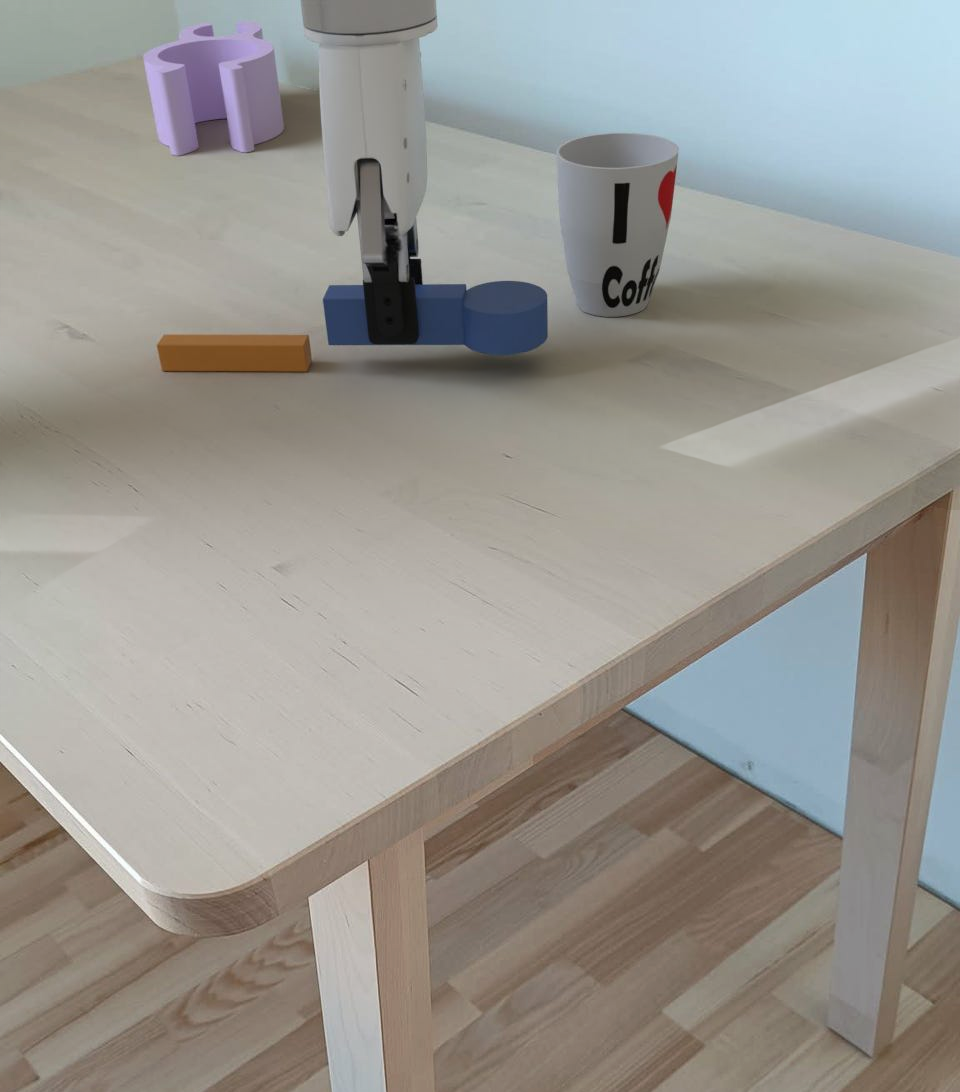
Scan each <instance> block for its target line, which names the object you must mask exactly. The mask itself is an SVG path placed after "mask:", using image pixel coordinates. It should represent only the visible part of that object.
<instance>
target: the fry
mask: <svg viewBox="0 0 960 1092" xmlns="http://www.w3.org/2000/svg"><path fill="white" fill-rule="evenodd" d="M311 348H312V347H311V341H310V335H309V334H183V333H182V334H167V333H166V334H163V335H162V336H161V338H160V340H159V341H158V342H157V344H156V349H157V353H158V357H159V362H160V367H161V371H163V372H293V373H295V372H296V373H297V372H302V373H303V372H304V373H305V372H308V370H309V368H310V366H311V364H312V362H313V357H312V349H311Z"/></svg>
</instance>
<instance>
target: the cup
mask: <svg viewBox="0 0 960 1092" xmlns="http://www.w3.org/2000/svg"><path fill="white" fill-rule="evenodd" d="M679 151H680V148H679V146H678V144H676V143H675V142H674V141H672V140H669V139H668V138H665V137H661V136H657V135H652V134H646V133H636V132H609V133H608V132H606V133H597V134H590V135H585V136H581V137H576V138H573V139H570V140H568V141H566V142H563V143H562V144H560V145H559V146H558V147H557V148H556V151H555V155H556V156H555V159H556V176H557V196H558V217H559V225H560V232H561V237H562V243H563V245H562V246H563V250H564V259H565V264H566V270H567V274H568V277H569V281H570V284H571V288H572V291H573V294H574V298H575V302H576V305H577V307H578V309H579V310H580V311H582V312H584V313H586V314H589V315H592V316H597V317H606V318H617V317H625V316H631V315H634V314H637V313H640V312H642V311H643V310H645V309H646V308H647V306H648V304H649V301H650V298H651V295H652V293H653V290H654V286H655V284H656V281H657V278H658V275H659V272H660V270H661V265H662V261H663V257H664V251H665V247H666V242H667V237H668V232H669V228H670V224H671V218H672V210H673V203H674V194H675V186H676V177H677V168H678V160H679Z"/></svg>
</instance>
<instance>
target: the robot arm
mask: <svg viewBox="0 0 960 1092" xmlns="http://www.w3.org/2000/svg"><path fill="white" fill-rule="evenodd" d="M300 7H301V8H300V9H301V16H302V23H303V24H302V25H303V34H304V37H305V38H306V39H307V40H308V41H311V42H313V43H317V44H318V86H319V89H318V90H319V108H320V122H321V123H320V125H321V137H322V138H321V139H322V150H323V151H322V152H323V163H324V175H325V187H326V189H325V190H326V199H327V200H326V201H327V213H328V223H329V229H330V230H331V232H332V233H333V234H334V235H335V236H337V237H343V236H344V235H345V233H346V232H348V231H349V229H350V228H351V226H352V224H353V221H354V219H355V217H356V218H357V229H358V239H359V247H360V248H359V249H360V260H361V270H362V271H361V272H362V278H363V279H362V285H363V288H364V298H365V307H366V317H367V327H368V336H369V341H370V342H371V343H373V344H415V343H416V342H417V340H418V337H419V331H418V318H417V304H416V291H415V284H424V282H423V281H424V280H423V268H422V258H418V257H419V252H420V251H419V234H418V233H419V232H418V222H417V217H418V214H419V211H420V209H421V207H422V203H423V201H424V197H425V194H426V192H427V186H428V146H427V145H428V144H427V143H428V141H427V124H426V107H425V92H424V82H423V81H424V79H423V68H422V51H421V44H420V38H423V37H426V36H428V35H429V34H432V33H434V32H435V31H436V30H437V28H438V24H439V23H438V13H437V12H438V11H437V0H300Z"/></svg>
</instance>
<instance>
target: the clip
mask: <svg viewBox="0 0 960 1092" xmlns="http://www.w3.org/2000/svg"><path fill="white" fill-rule="evenodd" d="M262 27H263V26H262V25H261V24H259V23H257V22H254V21H253V22H252V21H247V20H242V21H237V22H235V28H236V33H234V34H229V35H222V36H221V35H219V36H215V33H214V27H213V24H212V23H211V22H204V23H197V24H194V25H190V26H187V27H185V28H182V29H181V30H180V31H179V32H178V35H179V36H178V37H179V39H177V40H175V41H172V42H168V43H165V44H161V45H158V46H156V47H154V48H151V49H149V50H147V51H146V52H145V53H144V54H143V55H142V59H143V65H144V69H145V75H146V81H147V86H148V91H149V96H150V101H151V107H152V112H153V116H154V122H155V127H156V132H157V133H156V134H157V138H158V141H159V142H160V143H161V144H162V145H165V146H167V147H169V150H170V155H172V156H176V157H177V156H178V157H179V156H184V155H186V154H189V153H192V152H194V151H197V149H199V147H200V146H199V141H198V135H197V134H198V133H197V128H196V124H197V123H201V122H206V121H211V120H212V121H213V120H223V119H224V120H225V119H226V120H227V121H226V122H227V127H228V133H229V140H230V146H231V147H232V149H233V150H234V151H235V150H236V151H238V152H239V153H240V152H241V153H250V152H255V145H259V144H262V143H264V142H267V141H270V140H272V139H274V138H276V137H278V136H279V135H281V134H282V133H283V132H284V129H285V123H284V116H283V110H282V101H281V94H280V86H279V78H278V70H277V62H276V55H275V48H274V47H275V46H274V44H273V43H272V42H270V41H268V40H265V39H264V35H263V28H262Z"/></svg>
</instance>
